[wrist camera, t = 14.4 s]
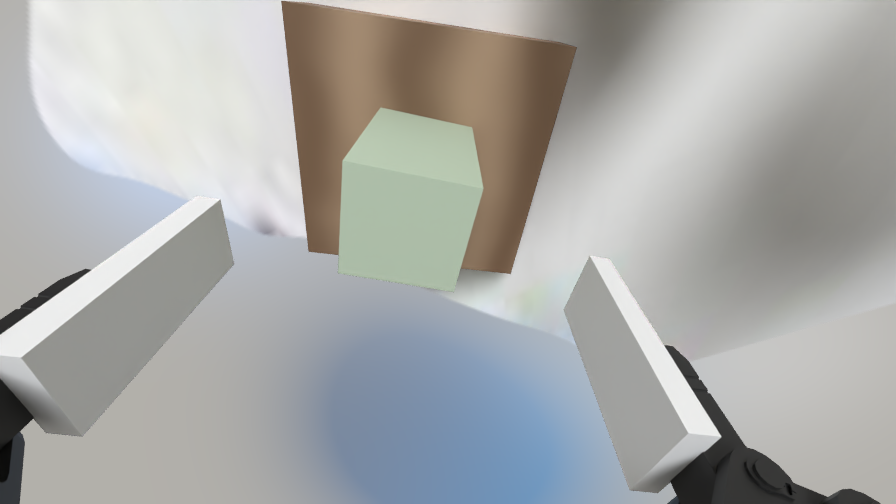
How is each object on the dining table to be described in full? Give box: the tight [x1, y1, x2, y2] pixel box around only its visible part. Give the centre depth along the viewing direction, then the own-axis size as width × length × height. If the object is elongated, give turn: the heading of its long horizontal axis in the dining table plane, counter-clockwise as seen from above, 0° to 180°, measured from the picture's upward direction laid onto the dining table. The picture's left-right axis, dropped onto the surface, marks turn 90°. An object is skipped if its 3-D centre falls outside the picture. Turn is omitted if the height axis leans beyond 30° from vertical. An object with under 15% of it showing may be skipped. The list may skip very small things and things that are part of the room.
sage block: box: [338, 108, 483, 292], centre depth 17 cm, size 5×5×8 cm
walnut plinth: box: [281, 1, 577, 274], centre depth 22 cm, size 14×14×4 cm
